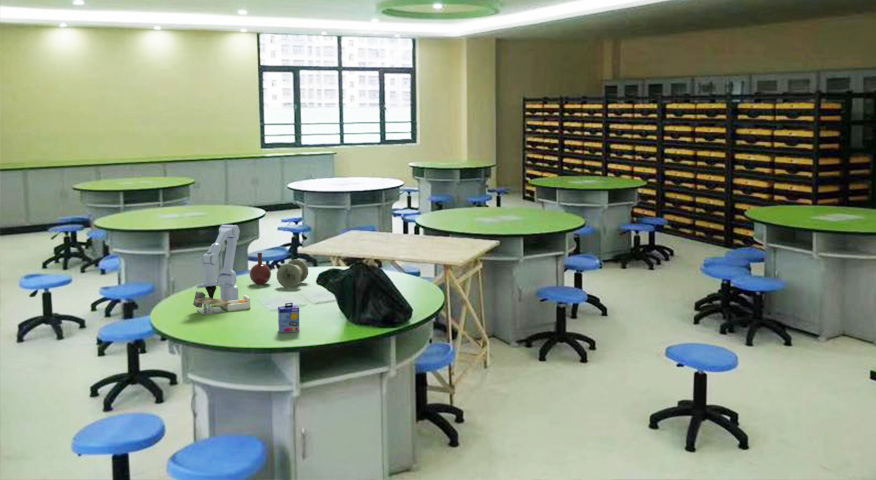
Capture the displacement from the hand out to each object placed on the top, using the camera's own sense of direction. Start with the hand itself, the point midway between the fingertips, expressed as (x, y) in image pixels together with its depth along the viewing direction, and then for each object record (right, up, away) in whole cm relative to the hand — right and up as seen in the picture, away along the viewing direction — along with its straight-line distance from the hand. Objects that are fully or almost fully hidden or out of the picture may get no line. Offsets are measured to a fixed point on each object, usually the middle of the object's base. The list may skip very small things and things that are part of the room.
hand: (211, 299), depth 416 cm
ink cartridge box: (+52, -12, -44) cm, 69 cm away
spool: (+33, +4, +61) cm, 70 cm away
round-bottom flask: (+13, +4, +63) cm, 64 cm away
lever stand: (+2, -6, -6) cm, 8 cm away
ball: (+17, -2, +3) cm, 17 cm away
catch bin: (+14, -5, +1) cm, 15 cm away
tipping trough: (+1, -4, -4) cm, 5 cm away
